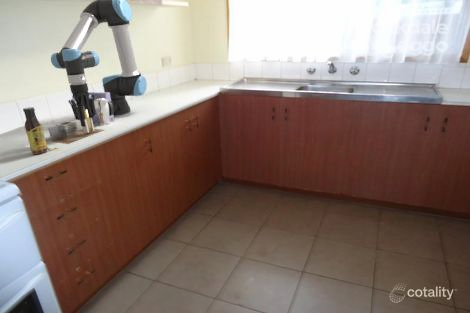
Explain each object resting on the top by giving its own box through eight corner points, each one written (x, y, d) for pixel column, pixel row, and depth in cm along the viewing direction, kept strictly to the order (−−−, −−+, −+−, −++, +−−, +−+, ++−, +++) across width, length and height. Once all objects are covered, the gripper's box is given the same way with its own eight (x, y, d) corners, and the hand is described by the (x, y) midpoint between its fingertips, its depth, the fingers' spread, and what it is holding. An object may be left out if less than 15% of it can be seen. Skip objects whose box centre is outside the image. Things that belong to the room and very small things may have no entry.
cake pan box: (117, 122, 184) (111, 91, 177) (112, 124, 179) (105, 92, 173) (87, 121, 188) (80, 91, 182) (82, 124, 184) (74, 93, 177)
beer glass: (98, 128, 173) (92, 101, 167) (99, 125, 179) (93, 98, 173) (112, 127, 175) (106, 99, 169) (113, 123, 181) (107, 97, 175)
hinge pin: (90, 132, 162) (84, 108, 158) (94, 132, 161) (88, 109, 157) (85, 134, 160) (79, 110, 155) (89, 134, 159) (84, 110, 154)
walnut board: (83, 130, 172) (82, 127, 172) (105, 132, 166) (104, 129, 165) (45, 143, 154) (45, 140, 153) (68, 147, 147) (68, 143, 147)
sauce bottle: (40, 155, 139) (26, 110, 132) (28, 154, 141) (14, 110, 133) (52, 149, 145) (39, 106, 137) (41, 149, 147) (28, 106, 139)
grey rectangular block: (69, 131, 164) (66, 121, 162) (78, 132, 161) (75, 122, 159) (47, 139, 154) (44, 128, 152) (56, 140, 151) (53, 129, 149)
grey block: (79, 129, 169) (76, 117, 167) (88, 130, 166) (85, 118, 164) (58, 136, 159) (55, 124, 156) (67, 137, 156) (64, 125, 154)
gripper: (69, 86, 143) (81, 137, 152) (97, 80, 156) (106, 127, 165) (58, 86, 146) (70, 135, 155) (86, 80, 159) (96, 126, 168)
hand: (89, 131), depth 160 cm, fingers closed on hinge pin, 3 cm apart
